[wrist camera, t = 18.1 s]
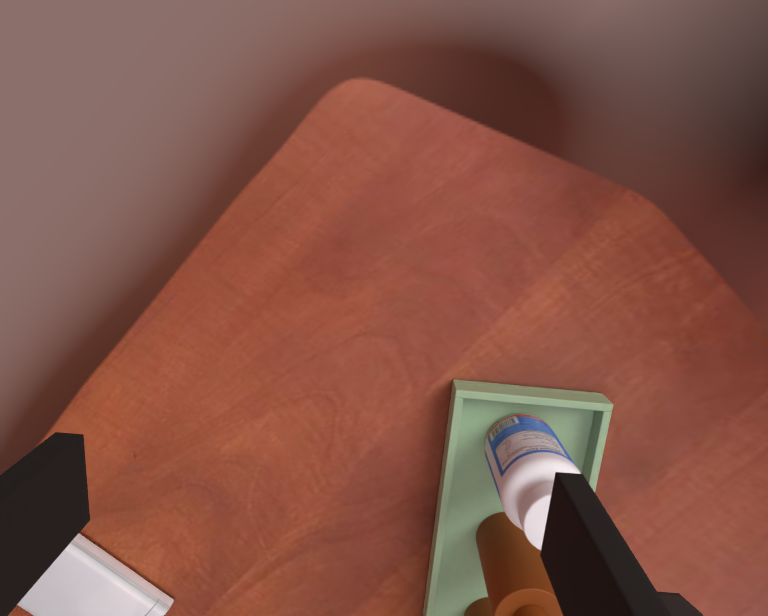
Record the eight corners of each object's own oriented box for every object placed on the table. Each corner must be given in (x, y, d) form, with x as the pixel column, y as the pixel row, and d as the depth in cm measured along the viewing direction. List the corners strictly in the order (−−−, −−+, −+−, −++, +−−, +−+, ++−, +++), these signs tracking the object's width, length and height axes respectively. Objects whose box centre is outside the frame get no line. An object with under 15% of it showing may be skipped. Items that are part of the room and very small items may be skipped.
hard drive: (-14, 588, 42) (111, 672, 44) (39, 523, 41) (167, 613, 43) (1, 573, 44) (121, 655, 46) (53, 510, 42) (175, 597, 44)
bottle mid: (479, 508, 41) (509, 628, 30) (538, 513, 41) (589, 635, 30) (472, 558, 42) (498, 691, 31) (529, 563, 42) (575, 698, 31)
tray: (452, 378, 39) (455, 389, 37) (602, 392, 39) (613, 404, 37) (417, 651, 45) (418, 674, 43) (546, 664, 45) (554, 687, 43)
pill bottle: (548, 479, 40) (595, 572, 30) (478, 472, 40) (503, 562, 30) (561, 414, 39) (614, 489, 29) (489, 406, 39) (518, 479, 29)
